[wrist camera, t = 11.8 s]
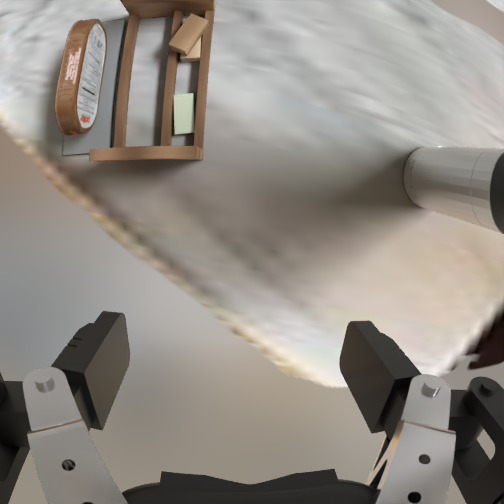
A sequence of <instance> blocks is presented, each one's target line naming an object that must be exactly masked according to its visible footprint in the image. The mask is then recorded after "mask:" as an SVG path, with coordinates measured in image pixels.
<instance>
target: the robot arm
mask: <svg viewBox="0 0 504 504" xmlns="http://www.w3.org/2000/svg"><path fill="white" fill-rule="evenodd" d="M404 186H405V189H406V192H407V194H408V196H409V198H410V199H411V200H412V202H413V203H415V204H416V205H417V206H419V207H422V208H425V209H429V210H432V211H435V212H438V213H441V214H445V215H448V216H451V217H454V218H458V219H461V220H464V221H467V222H470V223H473V224H476V225H479V226H482V227H485V228H488V229H491V230H494V231H497V232H500V233H502V234H504V149H495V148H493V149H492V148H468V147H422V148H418V149H417V150H415V151H414V152H413V153H412V154H411V155H410V156H409V158H408V159H407V161H406V164H405V167H404ZM129 361H130V349H129V342H128V335H127V327H126V319H125V315H124V314H123V313H117V312H107V311H103V312H102V313H101V314H100V316H99V317H98V318H97V320H96V321H95V322H94V323H89V324H87V325H85V326H84V327H82V328H81V329H79V330H78V331H77V332H76V334H75V335H74V336H73V339H71V340H70V342H69V343H68V346H66V347H65V348H64V349H63V351H62V352H61V354H60V355H59V356H58V358H57V359H56V360H55V362H54V363H53V364H52V366H51V367H41V368H37V369H35V370H33V371H31V372H29V373H28V374H27V375H26V376H25V378H24V380H23V382H20V381H4V380H3V378H2V375H1V373H0V504H8V503H9V500H10V497H11V495H12V492H13V489H14V487H15V484H16V481H17V479H18V476H19V474H20V471H21V469H22V466H23V464H24V462H25V459H26V457H27V455H28V452H29V450H30V449H31V453H32V456H33V459H34V463H35V467H36V470H37V473H38V476H39V480H40V483H41V486H42V488H43V491H44V494H45V496H46V500H47V502H48V504H446V500H447V495H448V490H449V485H450V479H451V474H452V476H453V478H454V480H455V482H456V484H457V485H458V487H459V489H460V491H461V493H462V495H463V497H464V499H465V501H466V503H467V504H504V389H503V388H502V387H501V386H500V385H499V384H498V383H497V382H495V381H494V380H492V379H490V378H487V377H476V378H473V379H472V380H471V382H470V384H469V386H468V388H467V390H451V389H450V387H449V385H448V384H447V383H446V382H445V381H444V380H442V379H441V378H439V377H436V376H433V375H428V374H421V373H420V372H419V370H418V369H417V368H416V367H415V365H414V364H413V363H412V362H411V361H410V359H409V358H408V357H407V356H406V355H405V353H404V352H403V351H402V350H401V349H399V346H398V345H397V344H396V343H395V342H394V340H393V339H391V338H390V337H388V336H386V335H385V334H383V333H380V332H379V331H378V329H377V328H376V327H375V326H374V324H373V323H372V322H371V321H351V322H350V323H349V324H348V326H347V330H346V334H345V339H344V343H343V347H342V351H341V355H340V370H341V373H342V375H343V377H344V379H345V381H346V383H347V385H348V387H349V389H350V391H351V393H352V395H353V397H354V399H355V401H356V403H357V405H358V407H359V409H360V411H361V413H362V415H363V417H364V419H365V421H366V423H367V425H368V427H369V429H370V431H371V433H377V432H382V431H385V432H386V437H385V438H384V440H383V442H382V445H381V448H380V450H379V453H378V456H377V458H376V460H375V463H374V465H373V468H372V470H371V472H370V475H369V477H368V479H367V481H366V483H365V484H362V483H359V482H354V481H349V480H341V479H338V478H337V475H336V472H335V469H330V470H322V471H314V472H305V473H295V474H291V475H288V476H284V477H281V478H277V479H273V480H270V481H266V482H262V483H257V484H250V485H249V484H242V483H237V482H232V481H227V480H223V479H219V478H214V477H210V476H206V475H193V474H181V473H171V472H163V471H162V473H161V479H160V482H158V483H150V484H144V485H141V486H137V487H134V488H131V489H128V490H126V491H124V492H122V493H121V492H120V490H119V488H118V487H117V485H116V483H115V482H114V480H113V478H112V476H111V475H110V473H109V471H108V469H107V467H106V465H105V463H104V462H103V460H102V458H101V456H100V454H99V452H98V450H97V448H96V446H95V444H94V442H93V440H92V438H91V436H90V434H89V430H90V428H94V429H99V430H103V428H104V425H105V423H106V420H107V417H108V415H109V412H110V410H111V407H112V405H113V402H114V400H115V397H116V395H117V392H118V390H119V387H120V385H121V383H122V380H123V378H124V375H125V373H126V371H127V368H128V366H129ZM483 429H485V431H486V432H487V434H488V435H489V436H490V438H491V439H492V441H493V442H494V444H495V454H494V457H493V458H492V459H491V461H490V459H489V458H488V456H487V454H486V453H485V451H484V450H483V448H482V447H481V446H480V444H479V442H478V441H477V438H478V436H479V435H480V433H481V432H482V430H483Z"/></svg>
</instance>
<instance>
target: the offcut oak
mask: <svg viewBox="0 0 504 504" xmlns="http://www.w3.org/2000/svg"><path fill="white" fill-rule="evenodd" d="M208 27H209V22H208V20H206V19H204V18H202V17H199V16H197V15H194V14H192V13H191V14H190V16H189V17H188V18H187V20H186V21H185V22H184V23H183V25H182V26H181V27H180V29H179V30H178V31H177V33H176V34H175V35H174V37H173V38H172V40H171V41H170V42H169V44H168V45H169V47H170V49H172V50H174V51H176V52H179V53H181V54H183V55H185V56H188V54H189V53H190V51H191V50H192V48H193V47H194V46H195V44H196V43H197V41H198V40H199V39H200V37H201V36H202V35H203V33H204V32H205V31H206V29H207V28H208Z"/></svg>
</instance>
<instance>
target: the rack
mask: <svg viewBox="0 0 504 504" xmlns="http://www.w3.org/2000/svg"><path fill="white" fill-rule="evenodd" d="M120 1H121V2H122V4H123V5H124V7H125V8H126V10H127V11H128V13H129V14H130V17H129V22H128V27H127V32H126V38H125V43H124V49H123V56H122V63H121V70H120V78H119V86H118V96H117V106H116V118H115V134H114V148H100V149H90V150H89V161H124V160H203V142H204V125H205V109H206V95H207V83H208V71H209V59H210V49H211V39H212V30H213V21H214V12H215V0H120ZM191 13H192V14H194V15H205V19H206V20H208V22H209V27H208V28H207V29H206V31H205V32H204V33H203V38H202V48H201V57H200V68H199V79H198V91H197V104H196V118H195V135H194V146H171V137H172V120H173V106H174V94H175V83H176V73H177V63H178V54H179V52H176V51H174V50H172V49H170V47H169V53H168V61H167V70H166V79H165V90H164V101H163V114H162V129H161V146H140V147H125V141H126V124H127V110H128V99H129V89H130V80H131V72H132V64H133V57H134V50H135V44H136V37H137V32H138V26H139V21H140V19H142V18H153V17H166V16H174V17H173V24H172V31H171V38H170V41H171V40H172V38H173V37H174V35H175V34H176V33H177V31H178V30H179V29H180V27H181V26H182V24H183V17H184V16H188V15H190V14H191Z"/></svg>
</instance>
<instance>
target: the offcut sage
mask: <svg viewBox="0 0 504 504" xmlns="http://www.w3.org/2000/svg"><path fill="white" fill-rule="evenodd" d="M174 127H175V135H181V134H192V133H195V110H194V94H193V93H189V94H179V95H174Z"/></svg>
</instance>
